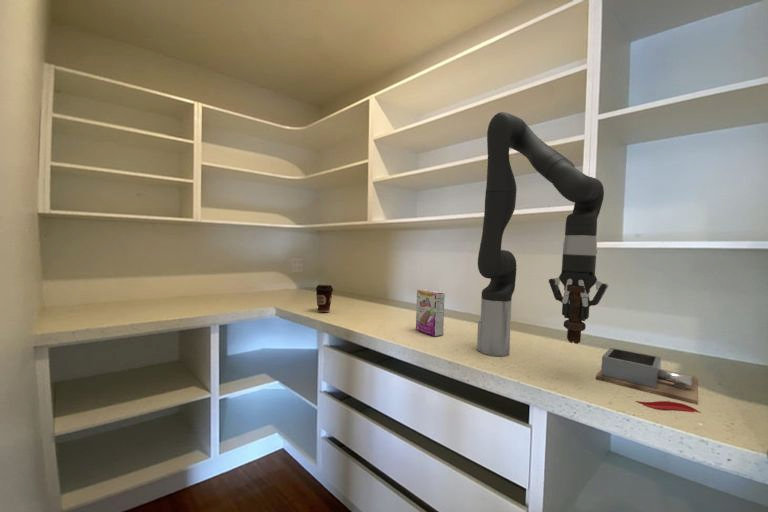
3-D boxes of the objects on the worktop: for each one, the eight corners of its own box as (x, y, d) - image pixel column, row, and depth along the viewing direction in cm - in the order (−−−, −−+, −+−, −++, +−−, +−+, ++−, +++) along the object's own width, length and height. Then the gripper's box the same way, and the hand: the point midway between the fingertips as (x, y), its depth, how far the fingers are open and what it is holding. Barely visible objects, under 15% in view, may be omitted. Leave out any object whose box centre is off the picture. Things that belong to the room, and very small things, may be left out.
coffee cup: (323, 313, 158) (324, 286, 158) (311, 311, 163) (312, 285, 163) (335, 310, 166) (336, 285, 165) (323, 308, 170) (324, 283, 170)
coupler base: (595, 379, 85) (595, 375, 84) (610, 361, 99) (610, 358, 99) (697, 405, 71) (697, 400, 71) (696, 380, 86) (696, 376, 86)
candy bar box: (414, 330, 130) (416, 289, 130) (424, 329, 133) (425, 289, 133) (434, 337, 121) (435, 293, 121) (443, 335, 124) (445, 292, 124)
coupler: (601, 375, 85) (602, 356, 84) (613, 360, 98) (614, 343, 97) (691, 397, 73) (692, 375, 73) (691, 376, 86) (692, 357, 86)
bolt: (585, 341, 86) (589, 285, 86) (587, 346, 82) (591, 287, 81) (560, 338, 89) (564, 283, 89) (560, 342, 85) (564, 285, 84)
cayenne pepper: (633, 406, 71) (634, 397, 71) (631, 398, 75) (632, 390, 75) (710, 423, 64) (710, 414, 64) (703, 414, 68) (704, 405, 68)
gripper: (545, 252, 87) (541, 316, 87) (608, 254, 77) (604, 326, 78) (554, 252, 92) (550, 312, 93) (614, 254, 82) (609, 322, 83)
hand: (575, 318), depth 85 cm, fingers closed on bolt, 3 cm apart
